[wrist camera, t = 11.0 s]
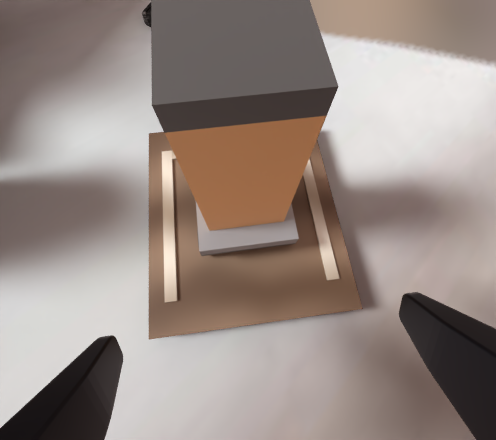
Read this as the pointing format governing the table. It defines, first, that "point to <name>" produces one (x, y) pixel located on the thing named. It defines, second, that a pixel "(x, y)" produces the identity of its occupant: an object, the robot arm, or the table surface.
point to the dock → (241, 259)
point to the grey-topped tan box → (240, 110)
